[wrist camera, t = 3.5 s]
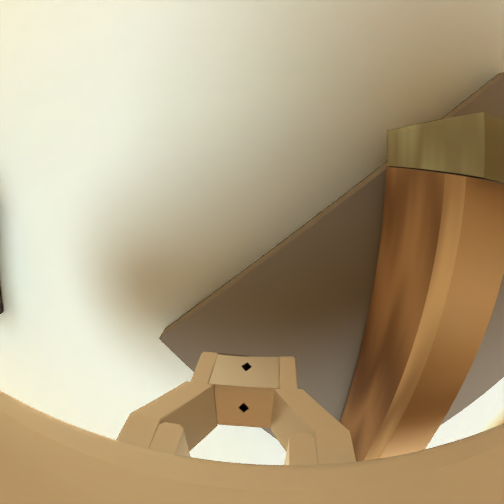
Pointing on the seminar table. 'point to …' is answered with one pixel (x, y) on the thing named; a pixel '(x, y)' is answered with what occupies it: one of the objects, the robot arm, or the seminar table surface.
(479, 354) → the grey board with posts
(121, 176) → the seminar table surface
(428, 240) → the gate
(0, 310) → the small box
